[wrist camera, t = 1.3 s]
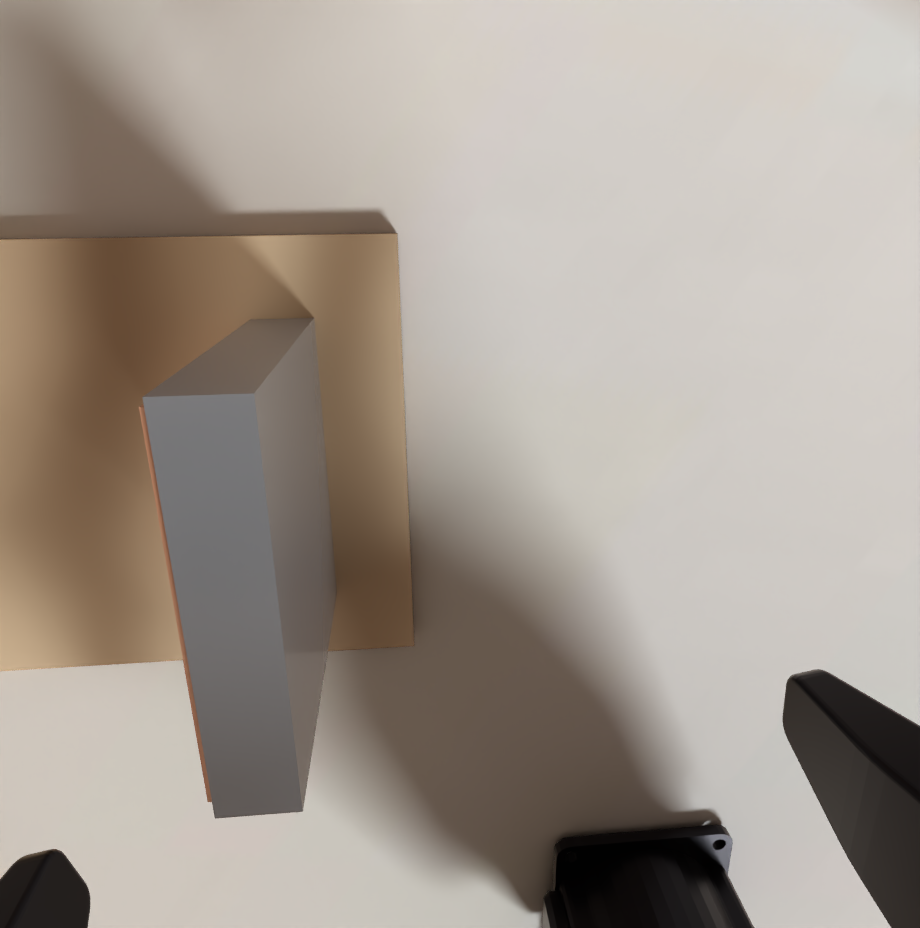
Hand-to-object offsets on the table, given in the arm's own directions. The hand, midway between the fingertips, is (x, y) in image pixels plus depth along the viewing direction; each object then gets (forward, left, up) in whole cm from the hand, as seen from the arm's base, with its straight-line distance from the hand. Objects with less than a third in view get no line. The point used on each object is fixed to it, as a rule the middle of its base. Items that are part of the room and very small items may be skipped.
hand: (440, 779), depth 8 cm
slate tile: (+3, 0, -12) cm, 12 cm away
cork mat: (+8, 0, -12) cm, 15 cm away
